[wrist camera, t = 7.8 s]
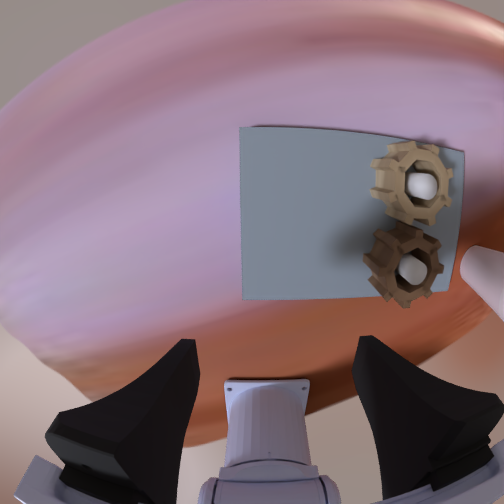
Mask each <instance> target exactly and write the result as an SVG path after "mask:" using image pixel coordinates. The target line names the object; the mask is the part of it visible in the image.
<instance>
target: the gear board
mask: <svg viewBox="0 0 504 504" xmlns="http://www.w3.org/2000/svg"><path fill="white" fill-rule="evenodd" d="M239 130H240V208H241V259H242V300H293V299H330V298H354V297H373V296H381V295H380V294H379V292H378V291H377V290H376V289H375V288H374V287H373V286H372V285H371V283H370V282H369V281H368V280H367V279H368V278H369V277H370V276H372V272H371V269H370V268H369V267H368V266H367V265H366V264H365V263H364V262H363V253H370V252H371V250H372V248H373V245H374V243H375V241H376V238H375V236H374V235H373V233H374V232H375V231H376V230H377V229H378V228H379V229H381V230H382V231H384V232H387V231H389V230H391V229H393V228H395V226H396V221H399V220H397V219H395V218H392V217H390V216H388V215H387V214H385V211H386V209H387V206H386V205H385V203H384V202H383V201H382V200H380V199H376V198H373V197H372V196H371V193H370V190H369V189H371V188H373V187H375V183H376V170H375V169H373V168H371V167H370V165H371V162H372V160H373V159H383V158H384V157H385V156H386V155H387V154H388V153H389V151H388V148H387V145H389V144H392V143H397V142H405V141H410V140H405V139H399V138H393V137H387V136H380V135H373V134H365V133H357V132H347V131H337V130H325V129H309V128H285V127H239ZM415 144H416V145H430V144H426V143H421V142H416V141H415ZM436 147H438V148H439V149H440V150H439V153H438V157H439V159H440V160H441V162H442V163H443V165H444V167H445V168H452V172H453V176H454V177H452V178H449V184H448V197H449V198H451V199H452V202H451V205H450V207H445V206H443V207H442V208H441V209H440V211H439V212H438V213H437V214H436V215H435V220H436V224H434V225H431V226H428V225H425V224H423V223H420V222H418V221H415V220H413V222H412V225H413V226H415V227H417V228H420V229H422V230H424V231H423V233H426V234H428V235H430V236H432V237H434V238H436V239H438V240H439V241H440V243H441V245H442V246H441V248H440V249H439V250H438V251H437V252H438V259H439V263H441V264H442V265H444V270H443V274H438V275H437V276H436V278H435V280H434V282H433V284H432V286H431V288H430V289H431V291H432V292H439V291H448V287H449V283H450V279H451V274H452V269H453V264H454V259H455V254H456V248H457V242H458V235H459V228H460V220H461V210H462V199H463V182H464V153H463V152H460V151H456V150H452V149H448V148H444V147H439V146H436ZM404 192H405V194H406V195H407V197H408V198H409V200H410V199H411V198H412V197H413V196H414V197H418V198H422V199H426V200H430V199H432V198H433V197H434V196H435V195H436V193H437V182H436V179H435V178H434V177H433V176H432V175H430V174H424V173H417V172H416V170H415V169H414V167H413V166H412V165H411V166H410V167H409V168H408V169H407V170H406V171H405V188H404ZM394 274H395V275H398V274H400V275H401V276H402V277H403V278H405V279H406V280H407V281H408V282H409V283H410V284H412V285H418V284H420V283H421V282H422V281H423V280H424V279H425V277H426V274H427V267H426V265H425V264H424V263H423V262H421V261H420V260H418V259H417V258H415V257H413V256H412V253H411V251H409V252H407V253H405V254H403V255H402V257H401V259H400V261H399V263H398V265H397V267H396V269H395V271H394Z"/></svg>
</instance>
